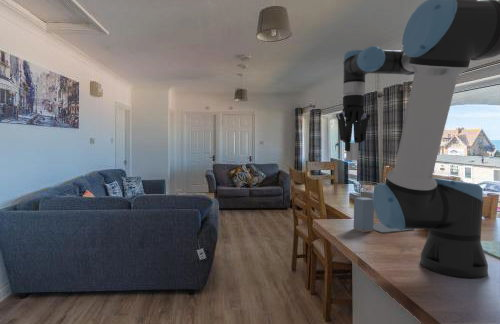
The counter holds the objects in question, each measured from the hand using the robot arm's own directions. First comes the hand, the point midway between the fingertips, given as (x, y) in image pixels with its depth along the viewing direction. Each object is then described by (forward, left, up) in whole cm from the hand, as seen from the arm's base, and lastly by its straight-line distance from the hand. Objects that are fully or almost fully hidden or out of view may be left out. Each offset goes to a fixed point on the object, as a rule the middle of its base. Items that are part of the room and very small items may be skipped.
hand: (352, 160), depth 120 cm
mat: (+13, -12, -26) cm, 32 cm away
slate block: (+5, -4, -26) cm, 27 cm away
